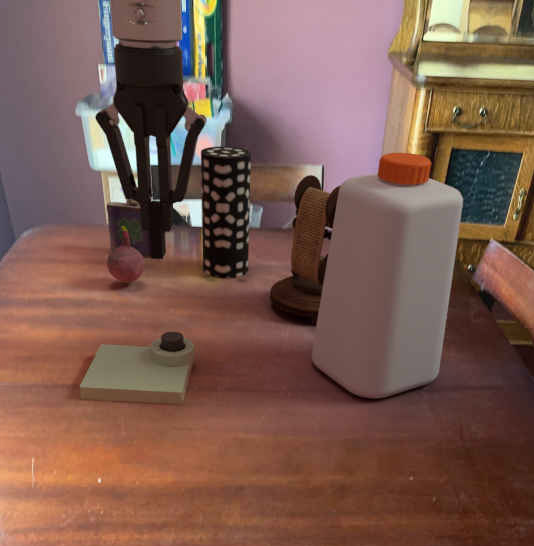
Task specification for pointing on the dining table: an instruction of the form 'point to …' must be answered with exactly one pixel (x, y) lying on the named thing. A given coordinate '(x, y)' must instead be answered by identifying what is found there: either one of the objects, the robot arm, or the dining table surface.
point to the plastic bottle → (388, 279)
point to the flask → (127, 226)
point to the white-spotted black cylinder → (225, 210)
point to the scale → (139, 374)
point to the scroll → (307, 250)
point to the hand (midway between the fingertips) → (158, 255)
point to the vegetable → (126, 261)
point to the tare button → (172, 341)
